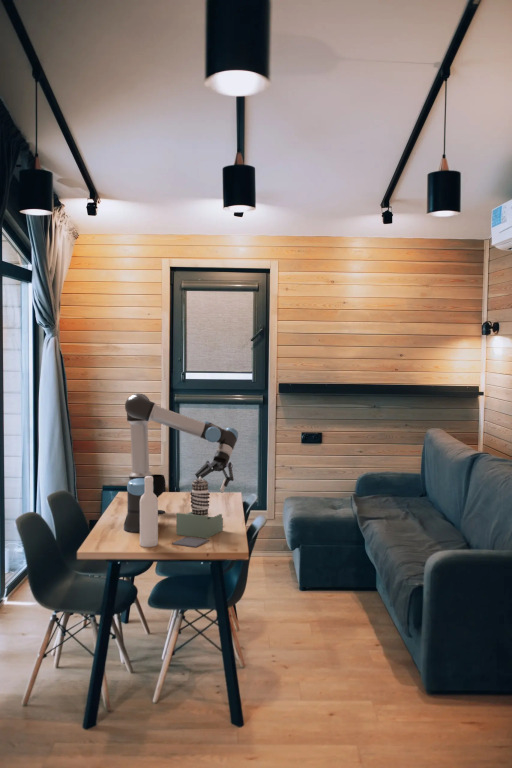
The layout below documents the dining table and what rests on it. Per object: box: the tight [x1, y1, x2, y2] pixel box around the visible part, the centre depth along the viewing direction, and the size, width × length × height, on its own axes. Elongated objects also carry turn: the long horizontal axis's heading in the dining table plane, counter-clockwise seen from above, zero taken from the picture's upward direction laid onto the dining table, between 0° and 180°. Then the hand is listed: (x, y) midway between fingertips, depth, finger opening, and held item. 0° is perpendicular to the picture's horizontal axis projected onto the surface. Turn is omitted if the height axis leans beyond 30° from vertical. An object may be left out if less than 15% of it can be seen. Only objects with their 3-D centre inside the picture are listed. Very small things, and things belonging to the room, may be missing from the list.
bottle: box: [139, 476, 159, 548], centre depth 279 cm, size 8×8×30 cm
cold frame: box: [175, 511, 224, 539], centre depth 301 cm, size 16×16×10 cm
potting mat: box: [171, 536, 210, 548], centre depth 283 cm, size 12×12×1 cm
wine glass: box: [153, 473, 167, 516], centre depth 342 cm, size 10×10×20 cm
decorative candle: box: [189, 478, 211, 519], centre depth 300 cm, size 9×9×25 cm
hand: (208, 490), depth 306 cm, fingers open, 13 cm apart
